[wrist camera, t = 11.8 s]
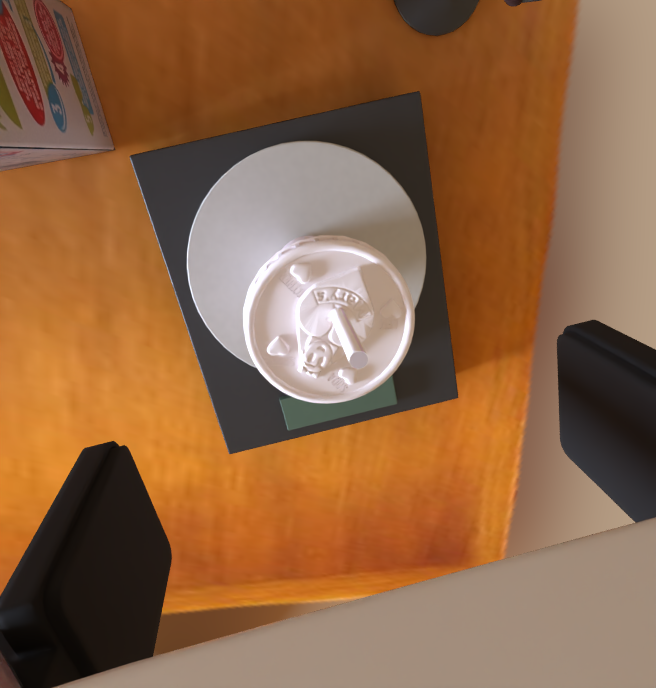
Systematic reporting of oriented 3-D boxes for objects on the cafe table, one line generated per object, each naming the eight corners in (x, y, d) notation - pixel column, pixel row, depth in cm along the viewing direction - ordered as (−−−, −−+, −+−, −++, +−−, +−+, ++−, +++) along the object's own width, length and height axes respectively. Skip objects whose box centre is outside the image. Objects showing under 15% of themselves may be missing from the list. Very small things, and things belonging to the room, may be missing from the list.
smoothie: (387, 239, 27) (500, 319, 14) (337, 342, 29) (396, 497, 16) (277, 188, 26) (291, 225, 13) (231, 300, 27) (201, 434, 14)
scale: (142, 155, 28) (124, 155, 24) (404, 96, 28) (425, 88, 25) (231, 430, 34) (228, 462, 31) (443, 378, 35) (463, 404, 31)
